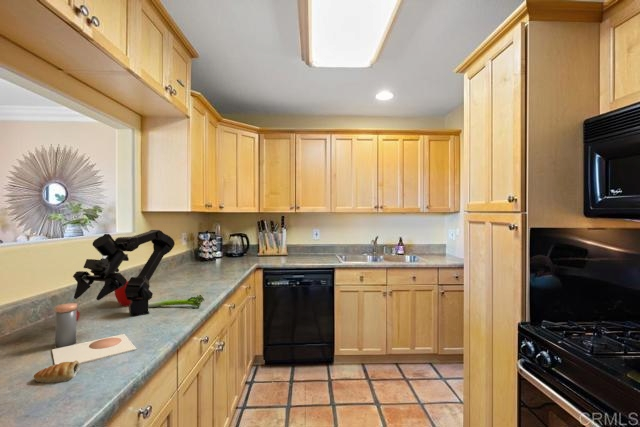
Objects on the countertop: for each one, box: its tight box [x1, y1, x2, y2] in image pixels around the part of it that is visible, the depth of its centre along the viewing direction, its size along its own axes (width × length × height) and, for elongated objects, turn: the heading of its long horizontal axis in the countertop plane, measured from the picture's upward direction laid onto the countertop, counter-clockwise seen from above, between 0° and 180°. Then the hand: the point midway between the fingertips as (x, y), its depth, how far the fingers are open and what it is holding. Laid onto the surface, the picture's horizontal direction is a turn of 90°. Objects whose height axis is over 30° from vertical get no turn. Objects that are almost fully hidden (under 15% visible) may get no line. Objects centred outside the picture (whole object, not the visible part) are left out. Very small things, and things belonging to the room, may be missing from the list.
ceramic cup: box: [114, 280, 131, 307], centre depth 155 cm, size 13×17×10 cm
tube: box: [54, 302, 78, 349], centre depth 107 cm, size 6×6×13 cm
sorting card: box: [51, 333, 137, 365], centre depth 102 cm, size 20×17×1 cm
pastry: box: [33, 361, 81, 384], centre depth 85 cm, size 9×7×4 cm
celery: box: [148, 294, 205, 309], centre depth 149 cm, size 6×7×30 cm
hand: (86, 299), depth 114 cm, fingers open, 9 cm apart
